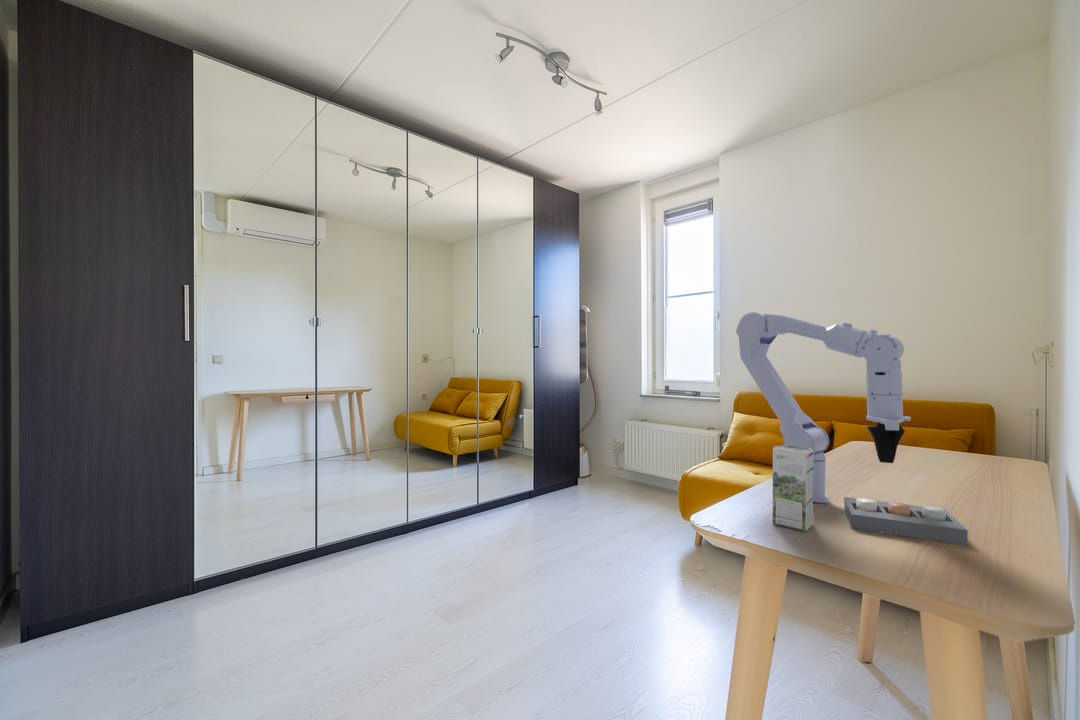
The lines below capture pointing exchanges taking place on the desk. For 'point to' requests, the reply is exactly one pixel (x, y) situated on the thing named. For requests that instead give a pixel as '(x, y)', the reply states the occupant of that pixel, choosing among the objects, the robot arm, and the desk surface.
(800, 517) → the syrup box
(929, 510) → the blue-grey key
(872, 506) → the ivory key
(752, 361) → the robot arm
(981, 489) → the desk surface
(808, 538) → the desk surface
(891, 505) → the terracotta key
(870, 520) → the grey compartment tray
